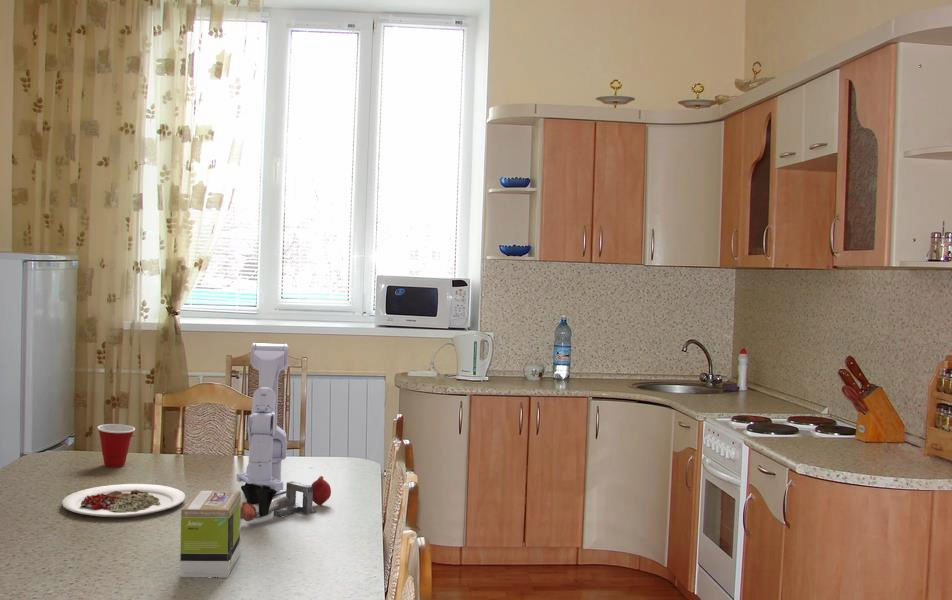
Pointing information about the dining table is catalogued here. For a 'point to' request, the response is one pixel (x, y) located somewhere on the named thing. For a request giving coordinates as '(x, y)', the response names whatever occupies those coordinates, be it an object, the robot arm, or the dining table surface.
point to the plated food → (123, 500)
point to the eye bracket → (293, 506)
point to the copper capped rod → (252, 510)
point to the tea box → (210, 534)
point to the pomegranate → (321, 491)
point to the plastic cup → (115, 443)
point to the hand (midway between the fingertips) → (258, 514)
